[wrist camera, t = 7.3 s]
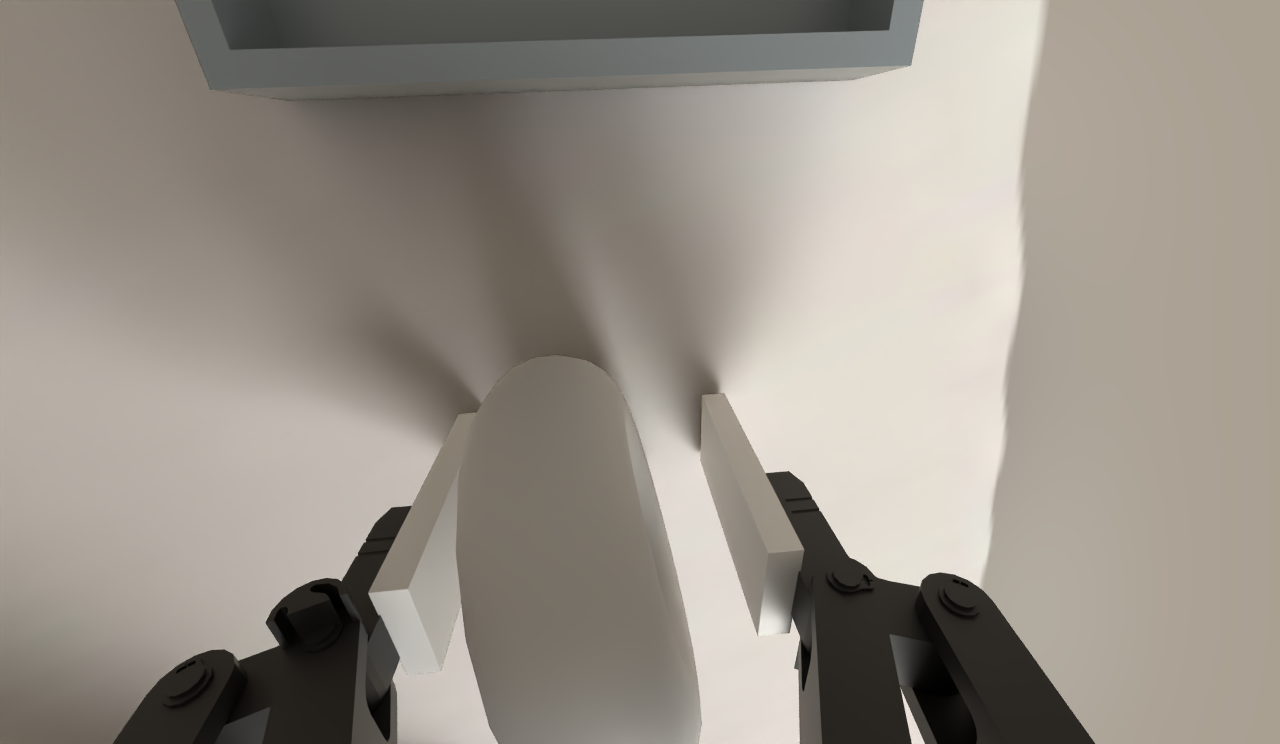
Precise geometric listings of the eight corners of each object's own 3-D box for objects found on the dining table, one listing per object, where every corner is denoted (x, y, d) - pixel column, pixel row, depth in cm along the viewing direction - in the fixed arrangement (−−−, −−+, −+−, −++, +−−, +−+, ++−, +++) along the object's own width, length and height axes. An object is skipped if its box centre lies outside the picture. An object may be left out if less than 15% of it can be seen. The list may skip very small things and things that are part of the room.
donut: (673, 524, 18) (751, 903, 9) (589, 546, 18) (583, 940, 9) (602, 285, 13) (617, 571, 4) (490, 315, 13) (284, 653, 5)
